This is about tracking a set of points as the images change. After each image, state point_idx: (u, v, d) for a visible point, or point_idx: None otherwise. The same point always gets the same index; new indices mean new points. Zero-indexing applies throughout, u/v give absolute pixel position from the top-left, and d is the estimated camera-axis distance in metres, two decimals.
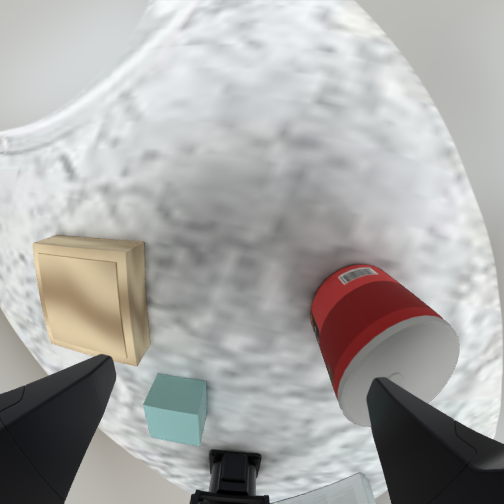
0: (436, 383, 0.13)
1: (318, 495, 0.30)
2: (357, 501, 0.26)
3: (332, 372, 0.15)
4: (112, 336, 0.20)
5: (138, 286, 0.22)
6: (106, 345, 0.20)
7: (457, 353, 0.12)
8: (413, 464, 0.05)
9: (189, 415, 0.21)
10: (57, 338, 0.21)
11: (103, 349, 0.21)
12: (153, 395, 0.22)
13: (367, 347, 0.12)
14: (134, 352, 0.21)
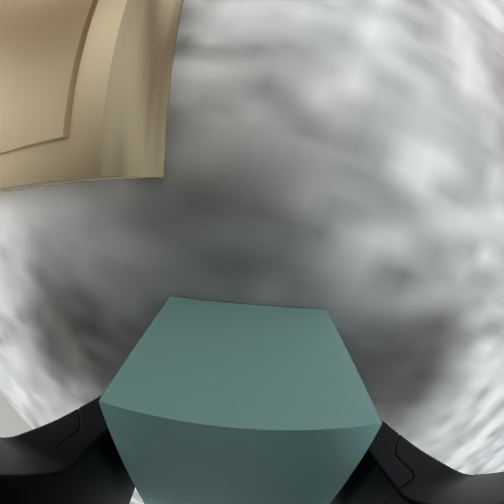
0: None
1: None
2: None
3: None
4: (41, 58, 0.03)
5: None
6: (11, 111, 0.04)
7: None
8: (348, 478, 0.05)
9: (341, 438, 0.04)
10: None
11: None
12: (150, 361, 0.05)
13: None
14: (103, 99, 0.04)
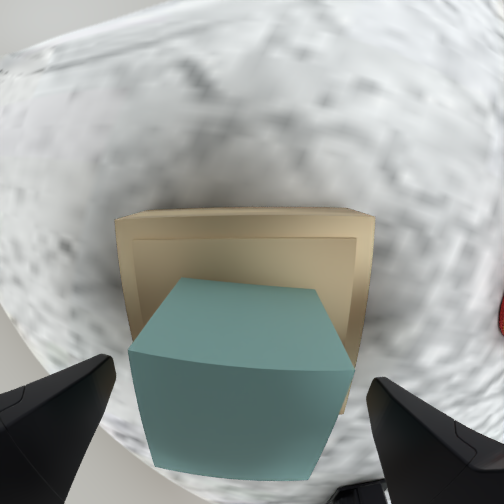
0: None
1: None
2: None
3: None
4: None
5: None
6: None
7: None
8: (413, 464, 0.05)
9: (322, 381, 0.06)
10: None
11: None
12: (168, 322, 0.07)
13: None
14: (347, 394, 0.12)
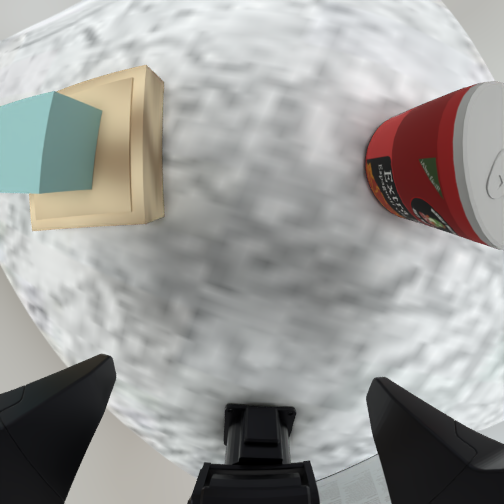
0: None
1: (359, 471, 0.25)
2: None
3: (433, 155, 0.09)
4: (113, 179, 0.15)
5: (155, 120, 0.16)
6: (104, 198, 0.15)
7: None
8: (413, 464, 0.05)
9: (43, 99, 0.09)
10: (41, 216, 0.15)
11: (99, 207, 0.15)
12: None
13: (467, 95, 0.07)
14: (143, 199, 0.15)
